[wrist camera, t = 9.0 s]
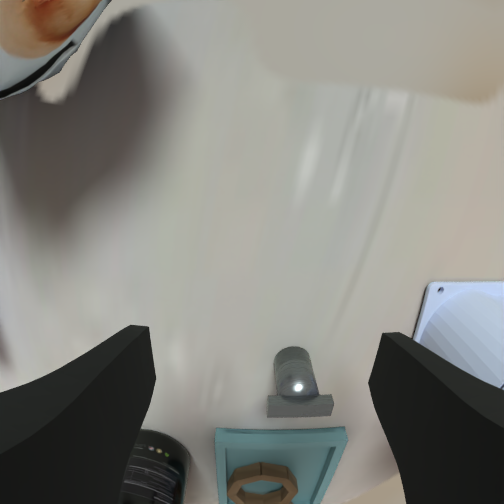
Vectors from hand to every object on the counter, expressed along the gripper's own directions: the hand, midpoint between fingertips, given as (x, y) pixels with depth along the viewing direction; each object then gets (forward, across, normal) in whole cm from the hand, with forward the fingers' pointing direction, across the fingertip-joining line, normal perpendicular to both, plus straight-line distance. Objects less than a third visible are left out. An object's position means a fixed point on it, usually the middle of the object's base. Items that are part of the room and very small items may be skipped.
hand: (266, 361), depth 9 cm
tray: (+9, -2, +21) cm, 23 cm away
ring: (+8, -2, +23) cm, 24 cm away
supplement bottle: (+10, +8, +18) cm, 22 cm away
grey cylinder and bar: (+9, -2, +7) cm, 12 cm away
